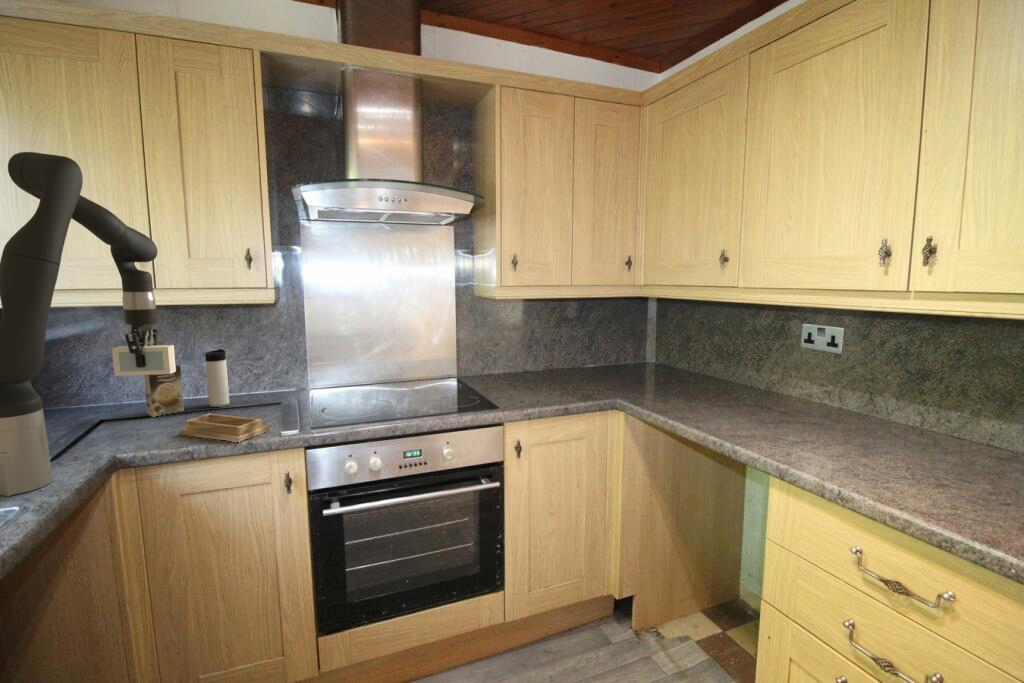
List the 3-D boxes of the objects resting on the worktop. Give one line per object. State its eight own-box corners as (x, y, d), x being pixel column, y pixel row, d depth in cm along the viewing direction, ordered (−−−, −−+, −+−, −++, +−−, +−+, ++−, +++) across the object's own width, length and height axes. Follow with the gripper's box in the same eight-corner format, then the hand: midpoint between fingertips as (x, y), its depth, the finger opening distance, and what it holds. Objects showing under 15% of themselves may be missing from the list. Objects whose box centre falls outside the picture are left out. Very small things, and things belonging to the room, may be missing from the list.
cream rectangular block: (170, 374, 143) (167, 347, 142) (114, 375, 140) (111, 348, 139) (176, 371, 147) (173, 345, 146) (122, 373, 144) (119, 346, 143)
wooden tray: (239, 443, 138) (238, 429, 137) (179, 435, 144) (178, 422, 143) (268, 431, 148) (267, 418, 148) (212, 424, 154) (211, 411, 154)
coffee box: (153, 417, 160) (148, 370, 158) (147, 414, 164) (142, 367, 162) (185, 411, 167) (180, 365, 165) (178, 408, 171) (174, 363, 169)
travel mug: (234, 403, 178) (229, 349, 175) (221, 408, 172) (217, 352, 169) (218, 402, 179) (213, 348, 176) (205, 407, 172) (200, 351, 169)
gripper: (142, 309, 135) (148, 370, 137) (165, 305, 149) (170, 361, 151) (110, 309, 133) (117, 371, 136) (137, 305, 147) (142, 361, 149)
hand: (145, 365), depth 143 cm, fingers closed on cream rectangular block, 4 cm apart
